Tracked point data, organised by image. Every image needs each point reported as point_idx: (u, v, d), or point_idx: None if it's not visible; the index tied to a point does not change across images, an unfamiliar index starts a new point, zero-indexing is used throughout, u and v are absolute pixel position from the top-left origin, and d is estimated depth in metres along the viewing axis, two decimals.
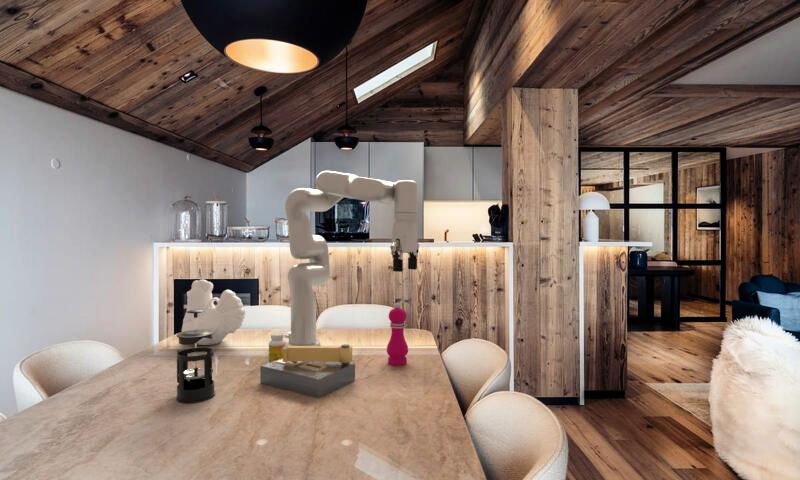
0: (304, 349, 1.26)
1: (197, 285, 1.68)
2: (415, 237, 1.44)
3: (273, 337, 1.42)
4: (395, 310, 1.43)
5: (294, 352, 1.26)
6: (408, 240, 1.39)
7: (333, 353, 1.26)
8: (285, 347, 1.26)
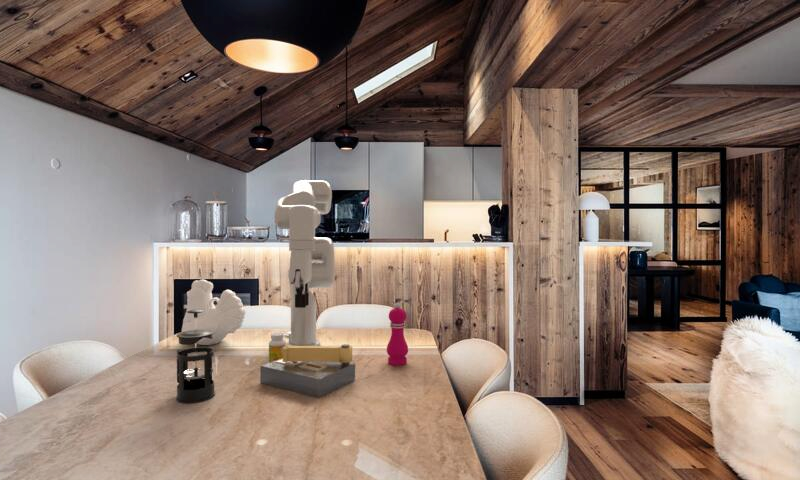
0: (304, 349, 1.26)
1: (197, 285, 1.68)
2: (311, 266, 1.34)
3: (273, 337, 1.42)
4: (395, 310, 1.43)
5: (294, 352, 1.26)
6: (307, 270, 1.29)
7: (333, 353, 1.26)
8: (285, 347, 1.26)
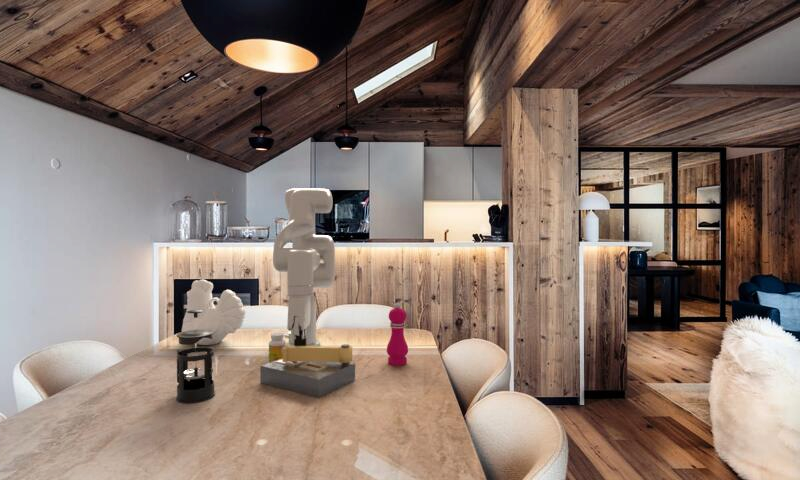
0: (304, 349, 1.26)
1: (197, 285, 1.68)
2: None
3: (273, 337, 1.42)
4: (395, 310, 1.43)
5: (294, 352, 1.26)
6: (306, 316, 1.27)
7: (333, 353, 1.26)
8: (285, 347, 1.26)
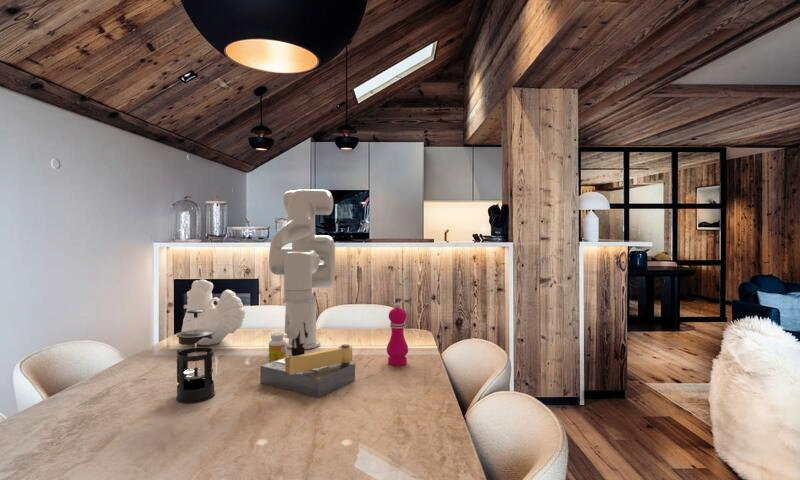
0: (310, 356, 1.19)
1: (197, 285, 1.68)
2: None
3: (273, 337, 1.42)
4: (395, 310, 1.43)
5: (300, 362, 1.17)
6: None
7: (337, 355, 1.24)
8: (291, 358, 1.15)
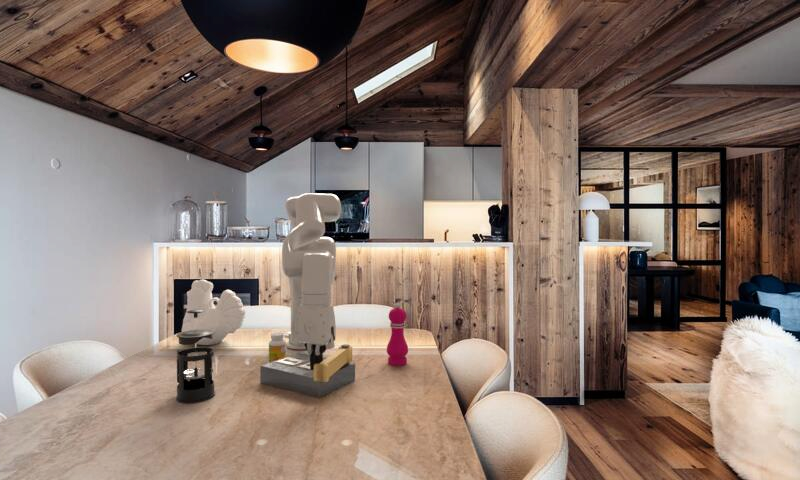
0: (333, 360, 1.15)
1: (197, 285, 1.68)
2: None
3: (273, 337, 1.42)
4: (395, 310, 1.43)
5: (329, 367, 1.12)
6: None
7: (344, 356, 1.24)
8: (324, 365, 1.10)
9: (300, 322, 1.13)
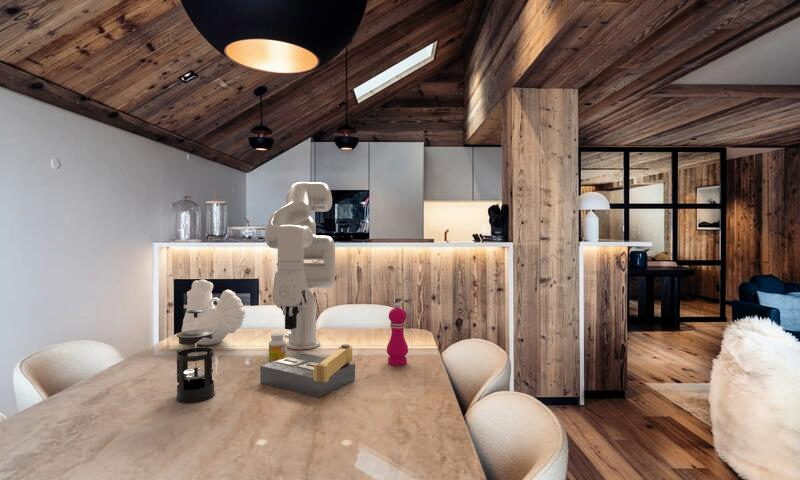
0: (333, 360, 1.15)
1: (197, 285, 1.68)
2: None
3: (273, 337, 1.42)
4: (395, 310, 1.43)
5: (329, 367, 1.12)
6: None
7: (344, 356, 1.24)
8: (324, 365, 1.10)
9: (276, 286, 1.27)
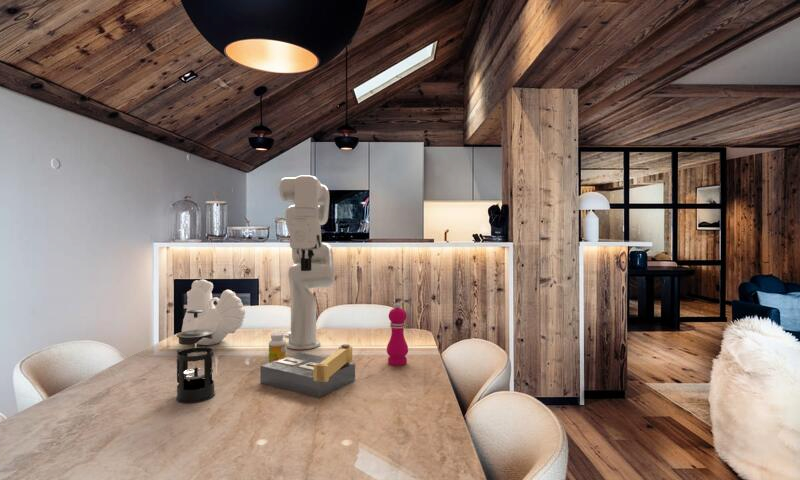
0: (333, 360, 1.15)
1: (197, 285, 1.68)
2: None
3: (273, 337, 1.42)
4: (395, 310, 1.43)
5: (329, 367, 1.12)
6: None
7: (344, 356, 1.24)
8: (324, 365, 1.10)
9: (293, 232, 1.40)
